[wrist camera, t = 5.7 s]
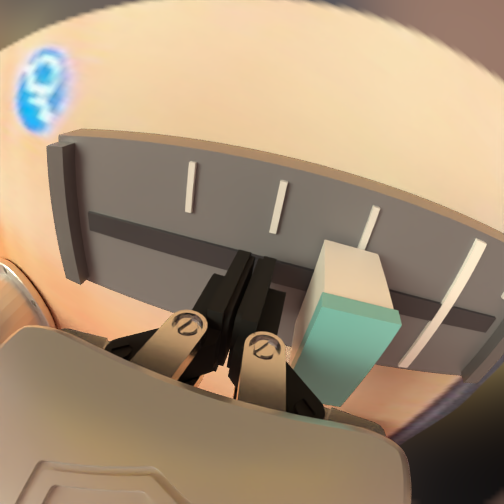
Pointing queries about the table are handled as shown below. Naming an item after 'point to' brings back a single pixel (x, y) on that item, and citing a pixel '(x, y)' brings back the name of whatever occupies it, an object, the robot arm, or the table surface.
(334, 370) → the fader knob
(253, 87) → the table surface
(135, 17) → the table surface
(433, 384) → the table surface
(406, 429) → the table surface
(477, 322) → the console board
